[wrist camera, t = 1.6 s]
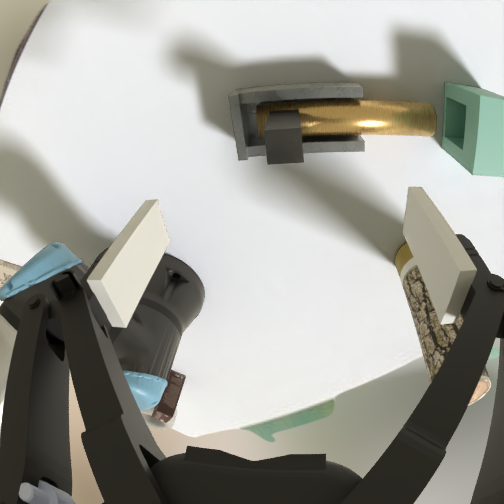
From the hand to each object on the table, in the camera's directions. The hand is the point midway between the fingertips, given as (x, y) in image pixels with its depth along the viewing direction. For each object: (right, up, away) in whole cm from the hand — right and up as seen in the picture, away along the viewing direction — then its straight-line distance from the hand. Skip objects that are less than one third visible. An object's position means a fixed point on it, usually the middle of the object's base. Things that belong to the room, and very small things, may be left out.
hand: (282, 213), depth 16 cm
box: (-21, -33, +59) cm, 71 cm away
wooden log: (+24, -2, +29) cm, 38 cm away
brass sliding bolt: (+9, +14, +17) cm, 24 cm away
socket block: (+26, +15, +16) cm, 34 cm away
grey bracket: (+4, +15, +19) cm, 25 cm away
